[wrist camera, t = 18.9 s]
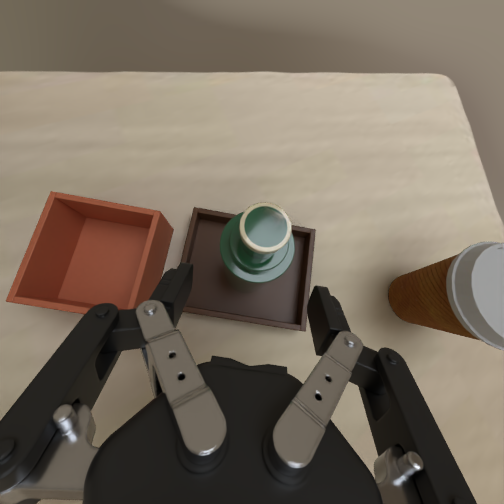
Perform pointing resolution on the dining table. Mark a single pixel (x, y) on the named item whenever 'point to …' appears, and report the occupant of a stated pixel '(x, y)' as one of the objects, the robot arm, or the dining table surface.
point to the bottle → (256, 247)
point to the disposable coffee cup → (457, 294)
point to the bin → (92, 255)
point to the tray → (245, 304)
